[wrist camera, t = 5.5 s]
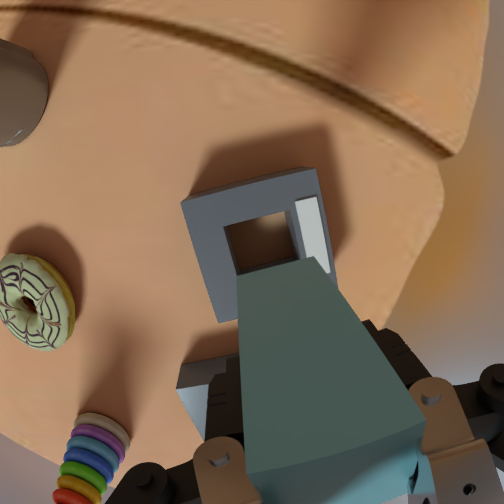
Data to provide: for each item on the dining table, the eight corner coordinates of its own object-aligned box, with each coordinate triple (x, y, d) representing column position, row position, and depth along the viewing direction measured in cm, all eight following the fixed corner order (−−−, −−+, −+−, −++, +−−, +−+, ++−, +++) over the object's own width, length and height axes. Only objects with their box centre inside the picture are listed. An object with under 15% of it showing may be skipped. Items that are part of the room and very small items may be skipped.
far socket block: (181, 364, 31) (175, 390, 27) (276, 344, 31) (281, 369, 27) (211, 426, 34) (209, 452, 30) (293, 410, 34) (299, 436, 30)
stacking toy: (114, 408, 33) (70, 536, 15) (140, 448, 35) (115, 564, 17) (66, 409, 33) (14, 518, 15) (94, 447, 35) (59, 550, 17)
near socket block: (188, 195, 26) (179, 202, 22) (304, 166, 26) (316, 168, 22) (220, 301, 29) (218, 324, 25) (325, 274, 29) (339, 293, 25)
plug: (236, 276, 14) (246, 474, 5) (313, 255, 14) (426, 419, 5) (259, 353, 16) (285, 537, 6) (327, 334, 16) (405, 502, 6)
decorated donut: (4, 236, 26) (-17, 246, 23) (84, 263, 28) (67, 277, 24) (7, 319, 29) (-10, 334, 26) (80, 349, 30) (67, 368, 27)
